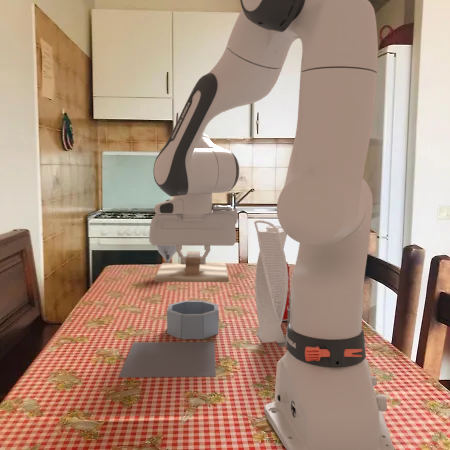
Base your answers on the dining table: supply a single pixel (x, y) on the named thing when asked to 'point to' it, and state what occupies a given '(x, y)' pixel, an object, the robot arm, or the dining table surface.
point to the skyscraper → (271, 284)
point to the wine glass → (167, 251)
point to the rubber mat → (170, 360)
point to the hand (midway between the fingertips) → (193, 264)
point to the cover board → (181, 269)
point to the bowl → (192, 319)
